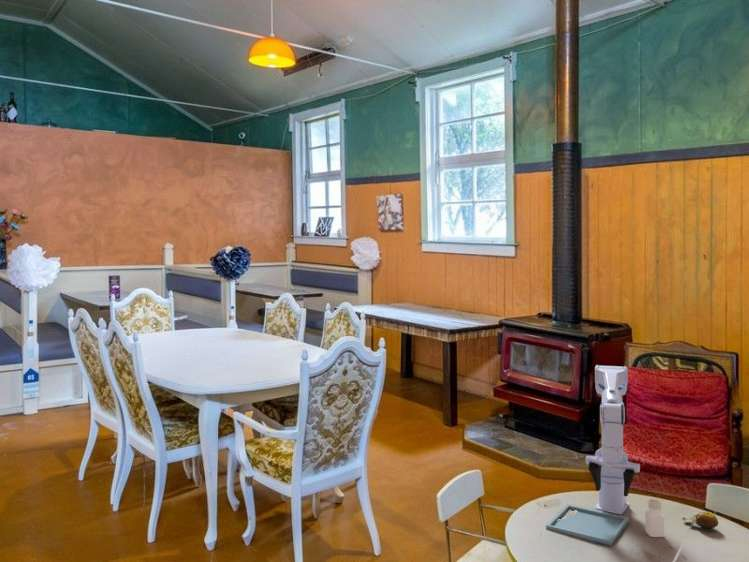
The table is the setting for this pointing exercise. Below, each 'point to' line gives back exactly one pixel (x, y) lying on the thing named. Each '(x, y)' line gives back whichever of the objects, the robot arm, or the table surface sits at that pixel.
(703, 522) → the chicken drumstick
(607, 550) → the table surface
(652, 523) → the pepper shaker
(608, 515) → the tray
